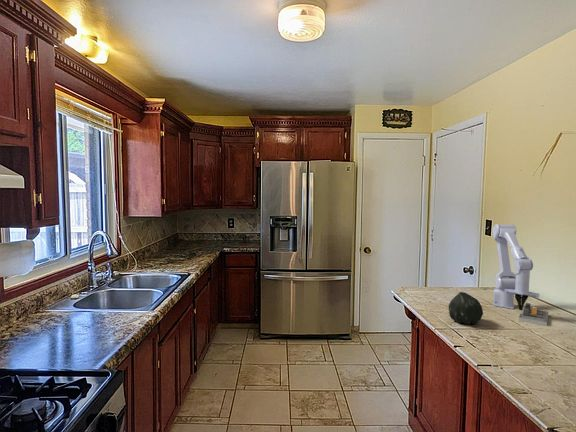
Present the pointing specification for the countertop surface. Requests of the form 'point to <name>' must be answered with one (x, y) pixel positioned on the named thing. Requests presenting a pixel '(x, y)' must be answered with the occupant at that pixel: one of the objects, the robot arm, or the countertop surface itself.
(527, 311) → the breaker
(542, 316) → the panel
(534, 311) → the block
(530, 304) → the block
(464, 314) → the squash
